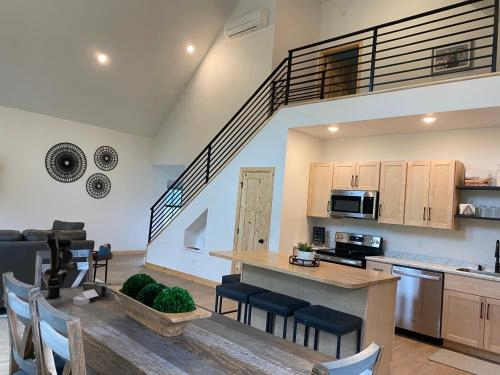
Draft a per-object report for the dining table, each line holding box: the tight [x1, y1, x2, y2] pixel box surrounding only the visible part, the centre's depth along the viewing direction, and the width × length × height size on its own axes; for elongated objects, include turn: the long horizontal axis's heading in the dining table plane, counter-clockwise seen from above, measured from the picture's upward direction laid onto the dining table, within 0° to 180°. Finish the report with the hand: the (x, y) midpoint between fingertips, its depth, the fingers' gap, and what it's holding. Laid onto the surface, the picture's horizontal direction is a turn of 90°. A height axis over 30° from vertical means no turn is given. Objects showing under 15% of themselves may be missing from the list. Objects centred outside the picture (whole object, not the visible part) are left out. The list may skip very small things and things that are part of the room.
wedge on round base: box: [72, 289, 99, 306], centre depth 220 cm, size 9×7×13 cm
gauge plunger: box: [86, 280, 112, 300], centre depth 230 cm, size 18×6×9 cm, turn 69°
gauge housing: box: [82, 281, 116, 302], centre depth 231 cm, size 22×4×8 cm, turn 69°
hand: (61, 284), depth 215 cm, fingers closed
